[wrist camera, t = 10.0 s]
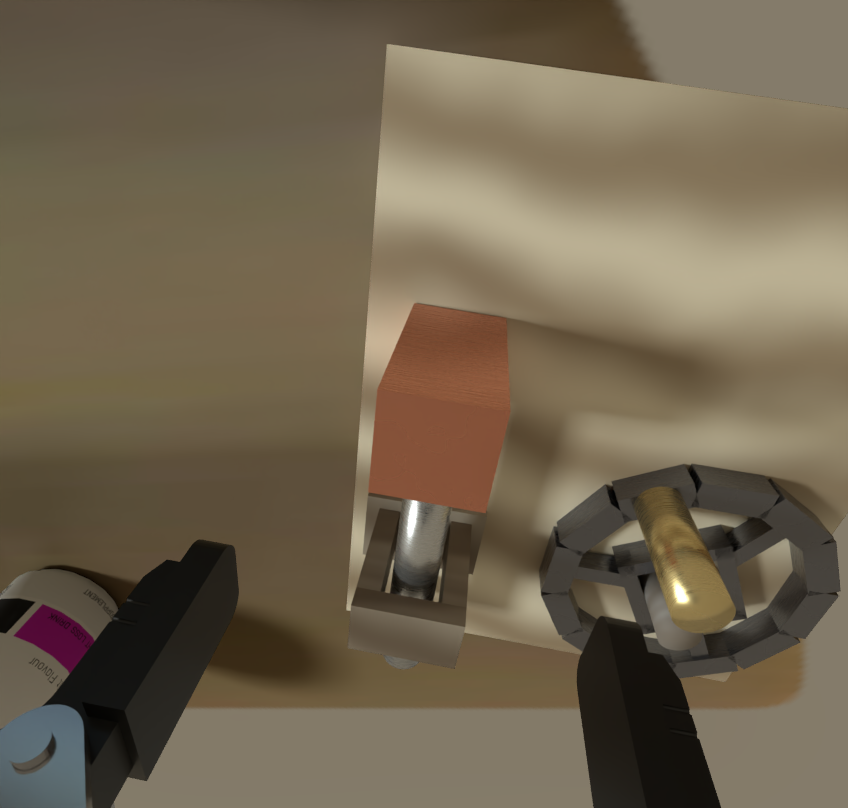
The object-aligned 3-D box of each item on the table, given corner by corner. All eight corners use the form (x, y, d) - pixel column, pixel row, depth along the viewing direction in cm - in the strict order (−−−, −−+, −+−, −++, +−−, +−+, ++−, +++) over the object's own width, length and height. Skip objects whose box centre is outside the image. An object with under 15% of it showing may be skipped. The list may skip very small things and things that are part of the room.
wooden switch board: (394, 48, 19) (332, 12, 12) (1069, 143, 18) (1448, 165, 11) (352, 591, 34) (313, 718, 27) (716, 659, 33) (776, 810, 26)
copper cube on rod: (414, 303, 22) (377, 389, 15) (506, 318, 22) (510, 411, 15) (380, 585, 31) (348, 718, 24) (445, 597, 31) (430, 734, 24)
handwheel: (507, 501, 27) (510, 624, 20) (809, 428, 23) (932, 554, 16) (580, 667, 33) (600, 803, 26) (830, 632, 29) (927, 784, 22)
